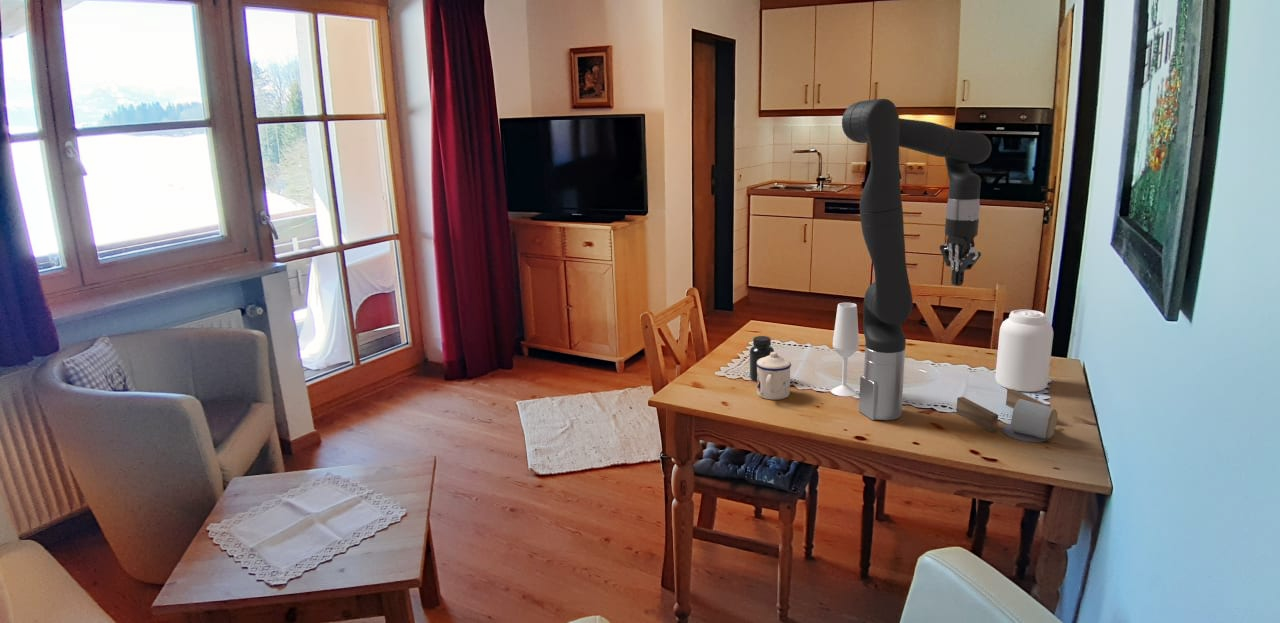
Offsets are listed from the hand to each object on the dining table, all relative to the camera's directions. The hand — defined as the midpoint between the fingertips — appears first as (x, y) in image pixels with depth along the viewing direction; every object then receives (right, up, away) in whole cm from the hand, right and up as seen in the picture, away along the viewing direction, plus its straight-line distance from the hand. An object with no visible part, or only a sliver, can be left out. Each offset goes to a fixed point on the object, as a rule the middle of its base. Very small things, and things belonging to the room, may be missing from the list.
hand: (957, 284), depth 188 cm
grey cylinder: (+10, -35, -18) cm, 40 cm away
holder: (+7, -32, -9) cm, 34 cm away
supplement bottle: (-46, -26, +22) cm, 57 cm away
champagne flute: (-26, -28, +11) cm, 40 cm away
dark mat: (+8, -35, -17) cm, 40 cm away
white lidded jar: (+22, -26, +11) cm, 36 cm away
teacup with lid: (-45, -29, +10) cm, 55 cm away
